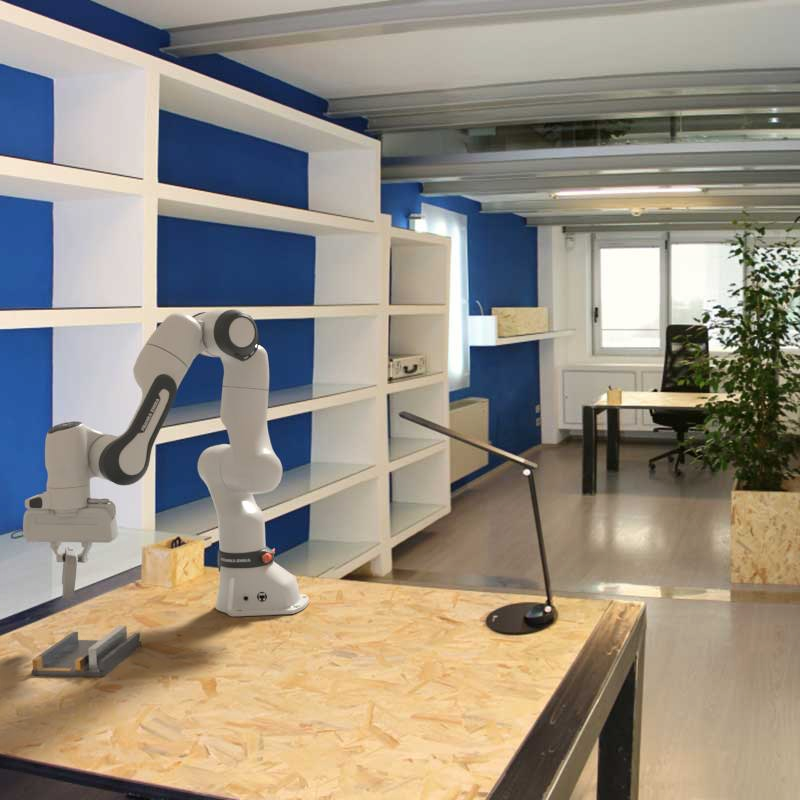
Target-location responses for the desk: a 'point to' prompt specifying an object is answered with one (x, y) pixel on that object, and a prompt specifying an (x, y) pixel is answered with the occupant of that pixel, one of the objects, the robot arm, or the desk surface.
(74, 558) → the game controller
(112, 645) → the phone stand
